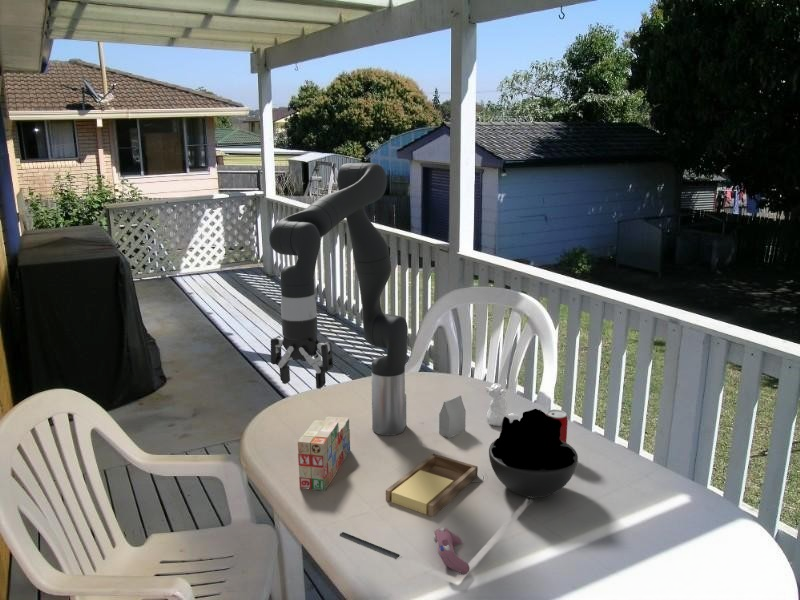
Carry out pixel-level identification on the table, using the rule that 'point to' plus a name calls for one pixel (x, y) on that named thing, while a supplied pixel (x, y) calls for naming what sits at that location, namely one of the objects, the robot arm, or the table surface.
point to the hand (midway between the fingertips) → (302, 385)
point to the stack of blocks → (322, 451)
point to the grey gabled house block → (452, 417)
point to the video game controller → (450, 550)
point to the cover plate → (420, 491)
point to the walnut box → (444, 468)
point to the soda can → (562, 418)
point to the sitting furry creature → (498, 406)
